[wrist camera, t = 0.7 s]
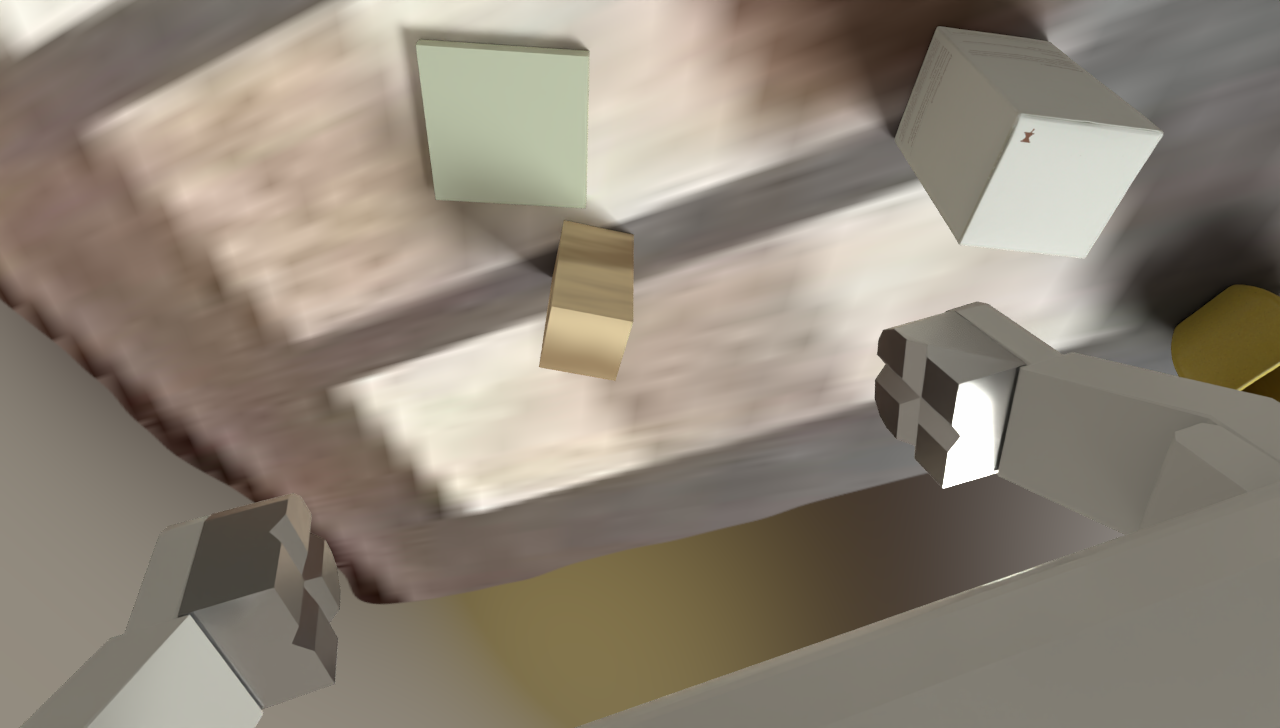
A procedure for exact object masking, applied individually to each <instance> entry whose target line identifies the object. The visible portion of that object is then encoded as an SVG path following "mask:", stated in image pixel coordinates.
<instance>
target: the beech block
mask: <svg viewBox="0 0 1280 728" xmlns="http://www.w3.org/2000/svg"><path fill="white" fill-rule="evenodd" d="M633 245H634V235H632V234H628V233H623V232H618V231H613V230H609V229H604V228H599V227H594V226H590V225H585V224H580V223H575V222H571V221H566V220H564V222H563V227H562V232H561V237H560V242H559V247H558V252H557V257H556V262H555V267H554V272H553V277H552V283H551V290H550V297H549V303H548V310H547V317H546V324H545V330H544V337H543V344H542V351H541V357H540V364H539V367H541V368H546V369H552V370H558V371H563V372H569V373H575V374H580V375H586V376H592V377H597V378H603V379H608V380H614V381H615V380H616V377H617V373H618V370H619V367H620V364H621V360H622V357H623V354H624V350H625V347H626V344H627V341H628V337H629V334H630V331H631V327H632V324H633Z"/></svg>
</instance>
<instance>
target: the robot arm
mask: <svg viewBox="0 0 1280 728" xmlns="http://www.w3.org/2000/svg"><path fill="white" fill-rule="evenodd" d="M877 355H878V356H879V357H880V358H881V359H882V361H883V362H884V363H885V364H886V365H885V366H884V368H883V369H882V371H881V372H880V373H879V375H878V376H877V378H876V379H875V401H876V405H877V408H878V412H879V415H880V417H881V419H882V421H883V423H884V424H885V426H886V428H887V429H888V430H889V431H890V432H891V433H892V435H893V436H894V437H895V438H896V439H898V440H901V441H903V442H906V443H909V444H912V445H915V459H916V461H917V462H918V463H919V464H920V465H921V466H922V467H923V468H924V469H925V470H926V471H927V472H928V473H929V474H930V475H931V476H932V477H933V479H934V480H935V481H936V482H937V483H938V484H939V485H940V486H941V487H942V488H946V487H949V486H953V485H956V484H959V483H963V482H966V481H970V480H973V479H977V478H980V477H984V476H987V475H990V474H994V473H997V472H998V473H997V476H1000V477H1002V478H1004V479H1006V480H1008V481H1010V482H1013V483H1015V484H1017V485H1019V486H1021V487H1023V488H1025V489H1027V490H1030V491H1032V492H1034V493H1036V494H1038V495H1040V496H1043V497H1045V498H1047V499H1049V500H1051V501H1053V502H1056V503H1058V504H1060V505H1062V506H1064V507H1066V508H1069V509H1071V510H1073V511H1075V512H1077V513H1079V514H1081V515H1084V516H1086V517H1088V518H1090V519H1092V520H1094V521H1097V522H1099V523H1101V524H1103V525H1105V526H1107V527H1109V528H1111V529H1114V530H1116V531H1118V532H1120V533H1122V534H1124V536H1122V537H1119V538H1116V539H1113V540H1110V541H1107V542H1105V543H1101V544H1098V545H1096V546H1093V547H1090V548H1087V549H1084V550H1081V551H1079V552H1076V553H1073V554H1070V555H1067V556H1064V557H1061V558H1058V559H1055V560H1053V561H1050V562H1047V563H1044V564H1041V565H1039V566H1035V567H1033V568H1030V569H1027V570H1024V571H1021V572H1018V573H1016V574H1013V575H1010V576H1007V577H1004V578H1001V579H999V580H996V581H993V582H990V583H987V584H984V585H981V586H979V587H976V588H973V589H970V590H967V591H965V592H961V593H959V594H956V595H953V596H950V597H947V598H944V599H941V600H938V601H936V602H933V603H930V604H927V605H925V606H922V607H919V608H916V609H913V610H910V611H907V612H904V613H901V614H899V615H896V616H893V617H890V618H887V619H885V620H881V621H879V622H876V623H873V624H870V625H867V626H864V627H861V628H859V629H856V630H853V631H850V632H847V633H844V634H842V635H839V636H836V637H833V638H830V639H827V640H825V641H822V642H819V643H816V644H813V645H810V646H807V647H805V648H801V649H799V650H796V651H793V652H790V653H787V654H785V655H782V656H779V657H776V658H773V659H770V660H767V661H764V662H762V663H759V664H756V665H753V666H750V667H747V668H744V669H741V670H739V671H736V672H733V673H730V674H727V675H724V676H721V677H719V678H716V679H713V680H710V681H707V682H704V683H702V684H699V685H696V686H693V687H690V688H687V689H685V690H681V691H679V692H676V693H673V694H670V695H667V696H664V697H661V698H659V699H656V700H653V701H650V702H647V703H644V704H641V705H639V706H636V707H633V708H630V709H627V710H624V711H622V712H619V713H616V714H613V715H610V716H607V717H604V718H601V719H599V720H596V721H593V722H590V723H587V724H584V725H582V726H579V727H576V728H1280V402H1278V401H1276V400H1274V399H1273V398H1269V397H1265V396H1261V395H1256V394H1252V393H1248V392H1243V391H1239V390H1235V389H1230V388H1226V387H1222V386H1217V385H1213V384H1209V383H1204V382H1200V381H1196V380H1191V379H1187V378H1182V377H1178V376H1174V375H1169V374H1165V373H1161V372H1156V371H1152V370H1148V369H1143V368H1139V367H1135V366H1130V365H1126V364H1122V363H1117V362H1113V361H1109V360H1104V359H1100V358H1096V357H1091V356H1087V355H1083V354H1078V353H1074V352H1071V353H1068V354H1064V355H1062V354H1061V353H1059V352H1058V351H1056V350H1055V349H1054V348H1052V347H1051V346H1049V345H1048V344H1046V343H1045V342H1043V341H1042V340H1040V339H1039V338H1037V337H1036V336H1034V335H1033V334H1031V333H1030V332H1029V331H1027V330H1026V329H1024V328H1023V327H1021V326H1020V325H1018V324H1017V323H1015V322H1014V321H1012V320H1011V319H1009V318H1008V317H1007V316H1005V315H1004V314H1002V313H1001V312H999V311H998V310H996V309H995V308H993V307H992V306H990V305H989V304H986V303H982V302H974V303H971V304H967V305H964V306H961V307H958V308H954V309H951V310H948V311H946V312H945V313H942V314H938V315H934V316H931V317H927V318H924V319H920V320H917V321H913V322H910V323H906V324H903V325H899V326H895V327H892V328H888V329H885V330H883V332H882V334H881V336H880V338H879V341H878V352H877ZM311 517H312V514H311V513H310V511H309V509H308V508H307V506H306V504H305V503H304V501H303V499H302V498H301V496H299V495H296V494H294V493H292V494H288V495H284V496H280V497H276V498H272V499H268V500H265V501H261V502H257V503H253V504H249V505H245V506H241V507H237V508H233V509H229V510H225V511H222V512H218V513H214V514H211V515H210V516H203V517H200V518H196V519H192V520H188V521H185V522H181V523H177V524H174V525H170V526H168V527H167V528H166V529H164V530H163V531H162V532H161V533H160V535H159V537H158V540H157V542H156V545H155V548H154V551H153V554H152V556H151V560H150V562H149V565H148V568H147V571H146V573H145V576H144V579H143V582H142V585H141V588H140V590H139V593H138V596H137V599H136V602H135V605H134V607H133V610H132V613H131V616H130V619H129V621H128V624H127V627H126V630H125V633H124V634H122V635H119V636H116V637H112V638H110V639H109V640H108V641H107V642H106V643H105V644H104V645H103V646H102V647H101V648H100V649H99V650H98V651H97V652H96V653H95V654H94V655H93V656H92V657H90V658H89V659H88V661H86V662H85V663H84V665H82V666H81V667H80V669H78V670H77V671H76V672H75V673H74V674H73V675H72V676H71V677H70V678H69V679H68V680H67V681H66V682H65V683H64V684H63V685H62V686H61V687H60V688H59V689H58V690H57V691H56V692H55V693H54V694H53V695H52V696H51V697H50V698H49V699H48V700H47V701H46V702H45V703H44V704H43V705H42V706H41V707H40V708H39V709H38V710H37V711H36V712H35V713H34V714H33V715H32V716H31V717H30V718H29V719H28V720H27V721H26V722H25V723H24V724H23V725H22V726H21V727H20V728H255V726H256V725H257V723H258V722H259V720H260V718H261V717H262V715H263V711H262V709H265V708H268V707H271V706H274V705H276V704H279V703H282V702H285V701H288V700H291V699H294V698H296V697H299V696H302V695H305V694H308V693H311V692H313V691H316V690H319V689H322V688H325V687H328V686H331V685H334V684H335V674H336V660H337V646H338V638H337V636H336V634H335V632H334V630H333V629H332V627H331V625H330V622H331V620H332V619H333V618H334V616H335V615H336V614H337V612H338V611H339V610H340V585H339V578H338V571H337V567H336V564H335V561H334V558H333V555H332V552H331V550H330V548H329V546H328V544H327V543H326V541H325V539H324V538H321V537H319V536H317V535H315V534H312V533H310V526H311Z"/></svg>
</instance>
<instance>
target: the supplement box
mask: <svg viewBox="0 0 1280 728" xmlns="http://www.w3.org/2000/svg"><path fill="white" fill-rule="evenodd" d="M1162 136H1163V131H1161V130H1160V129H1159V128H1158V127H1157V126H1155V125H1154V124H1153V123H1152V122H1151V121H1149V120H1148V119H1147V118H1146V117H1144V116H1143V115H1142V114H1141V113H1139V112H1138V111H1137V110H1136V109H1134V108H1133V107H1132V106H1131V105H1129V104H1128V103H1127V102H1125V101H1124V100H1123V99H1122V98H1120V97H1119V96H1118V95H1116V94H1115V93H1114V92H1112V91H1111V90H1110V89H1109V88H1107V87H1106V86H1105V85H1103V84H1102V83H1101V82H1099V81H1098V80H1097V79H1096V78H1094V77H1093V76H1092V75H1091V74H1089V73H1088V72H1087V71H1086V70H1084V69H1083V68H1082V67H1080V66H1079V65H1078V64H1077V63H1075V62H1074V61H1073V60H1071V59H1070V58H1069V57H1068V56H1067V55H1065V54H1064V53H1063V52H1062V51H1060V50H1059V49H1058V48H1057V47H1055V46H1054V45H1053V44H1052V43H1051V42H1048V41H1042V40H1036V39H1030V38H1023V37H1016V36H1009V35H1001V34H994V33H986V32H979V31H971V30H964V29H956V28H949V27H942V26H938V27H937V28H936V31H935V33H934V35H933V38H932V41H931V43H930V46H929V48H928V51H927V54H926V56H925V59H924V62H923V64H922V67H921V69H920V72H919V74H918V77H917V80H916V83H915V85H914V88H913V90H912V93H911V96H910V98H909V101H908V104H907V106H906V109H905V112H904V114H903V117H902V120H901V122H900V125H899V128H898V131H897V133H896V136H895V142H896V144H897V146H898V147H899V149H900V150H901V152H902V153H903V155H904V157H905V158H906V160H907V162H908V163H909V165H910V166H911V168H912V169H913V171H914V173H915V174H916V176H917V177H918V179H919V181H920V182H921V184H922V185H923V187H924V189H925V190H926V192H927V193H928V195H929V197H930V198H931V200H932V201H933V203H934V205H935V206H936V208H937V209H938V211H939V213H940V214H941V216H942V217H943V219H944V221H945V222H946V224H947V225H948V227H949V229H950V230H951V232H952V233H953V235H954V237H955V238H956V240H957V242H958V243H959V245H963V246H973V247H983V248H992V249H1000V250H1010V251H1019V252H1028V253H1038V254H1047V255H1055V256H1064V257H1074V258H1081V259H1082V258H1085V257H1086V256H1087V254H1088V252H1089V251H1090V249H1091V248H1092V246H1093V244H1094V243H1095V241H1096V240H1097V238H1098V237H1099V235H1100V233H1101V232H1102V230H1103V228H1104V227H1105V225H1106V224H1107V222H1108V220H1109V219H1110V217H1111V216H1112V214H1113V213H1114V211H1115V209H1116V208H1117V206H1118V204H1119V203H1120V201H1121V200H1122V198H1123V196H1124V195H1125V193H1126V191H1127V190H1128V188H1129V186H1130V185H1131V183H1132V182H1133V180H1134V179H1135V177H1136V176H1137V174H1138V173H1139V171H1140V170H1141V168H1142V167H1143V165H1144V164H1145V162H1146V160H1147V159H1148V157H1149V156H1150V154H1151V153H1152V151H1153V150H1154V148H1155V146H1156V145H1157V143H1158V142H1159V140H1160V139H1161V138H1162Z"/></svg>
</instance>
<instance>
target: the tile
mask: <svg viewBox="0 0 1280 728" xmlns="http://www.w3.org/2000/svg"><path fill="white" fill-rule="evenodd" d="M416 52H417V59H418V67H419V75H420V83H421V90H422V98H423V106H424V113H425V121H426V129H427V137H428V144H429V152H430V160H431V167H432V175H433V183H434V191H435V198H436V200H448V201H465V202H482V203H500V204H517V205H534V206H551V207H568V208H586V190H587V143H588V96H589V51H584V50H569V49H554V48H540V47H525V46H510V45H495V44H481V43H466V42H451V41H437V40H422V39H419V41H418V42H417V44H416Z"/></svg>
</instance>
